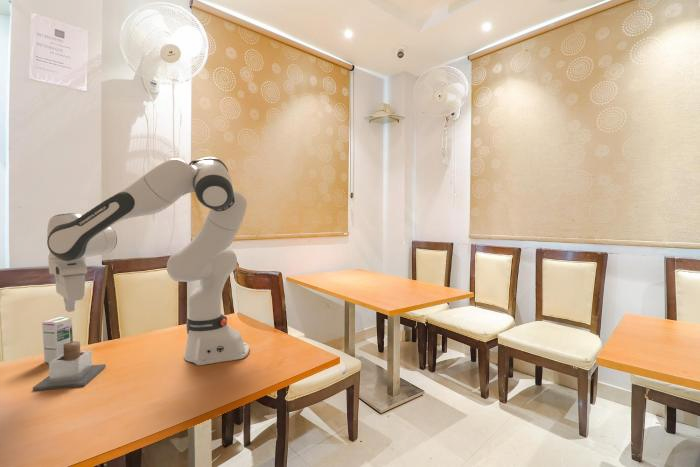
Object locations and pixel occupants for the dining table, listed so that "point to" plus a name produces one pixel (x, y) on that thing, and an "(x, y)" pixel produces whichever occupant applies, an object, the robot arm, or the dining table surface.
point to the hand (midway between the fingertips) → (70, 310)
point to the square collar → (70, 372)
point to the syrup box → (56, 336)
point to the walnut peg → (71, 350)
